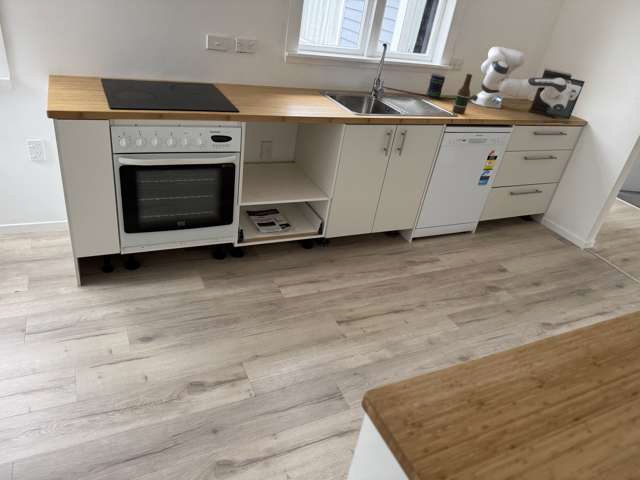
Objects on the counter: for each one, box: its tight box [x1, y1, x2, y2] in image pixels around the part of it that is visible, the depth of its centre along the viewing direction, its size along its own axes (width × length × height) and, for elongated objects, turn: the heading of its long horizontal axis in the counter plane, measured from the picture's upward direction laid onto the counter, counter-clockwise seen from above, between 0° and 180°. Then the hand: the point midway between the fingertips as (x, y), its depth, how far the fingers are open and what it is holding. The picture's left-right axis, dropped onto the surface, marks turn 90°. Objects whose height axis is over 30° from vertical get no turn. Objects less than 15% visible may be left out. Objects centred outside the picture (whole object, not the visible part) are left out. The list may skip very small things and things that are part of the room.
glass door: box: [545, 76, 585, 120], centre depth 338 cm, size 9×17×26 cm, turn 65°
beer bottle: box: [452, 73, 473, 115], centre depth 305 cm, size 8×8×24 cm
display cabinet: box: [528, 67, 573, 119], centre depth 349 cm, size 14×18×30 cm
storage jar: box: [426, 73, 446, 100], centre depth 339 cm, size 10×10×15 cm
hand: (566, 80), depth 333 cm, fingers closed on glass door, 2 cm apart
